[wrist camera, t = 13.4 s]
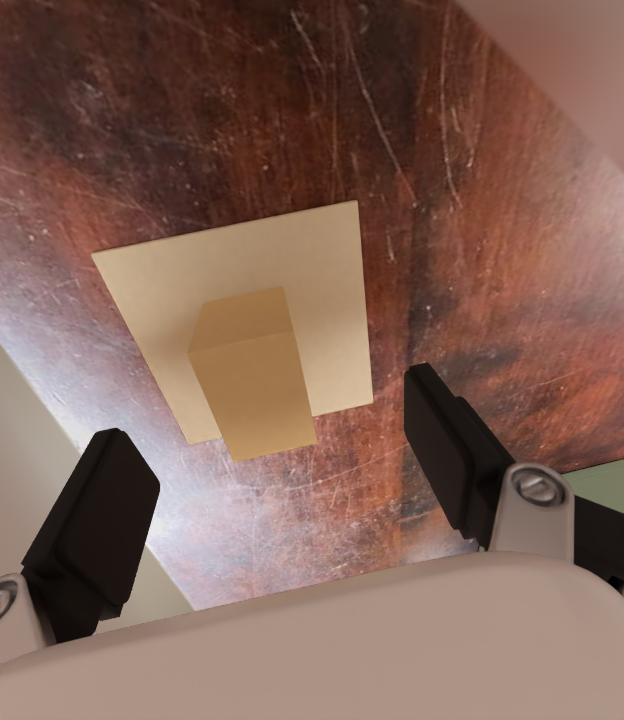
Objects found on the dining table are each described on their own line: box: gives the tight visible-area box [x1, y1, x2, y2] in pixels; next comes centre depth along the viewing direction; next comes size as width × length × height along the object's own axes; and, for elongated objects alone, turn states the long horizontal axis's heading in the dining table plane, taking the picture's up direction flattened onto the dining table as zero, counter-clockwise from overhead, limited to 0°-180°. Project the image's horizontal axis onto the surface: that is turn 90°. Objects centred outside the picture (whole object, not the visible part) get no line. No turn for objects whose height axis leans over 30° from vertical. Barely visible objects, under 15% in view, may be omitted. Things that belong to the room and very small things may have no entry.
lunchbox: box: [479, 459, 624, 552], centre depth 30 cm, size 16×11×5 cm
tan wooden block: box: [187, 287, 318, 463], centre depth 16 cm, size 6×4×5 cm, turn 9°
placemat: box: [91, 200, 373, 445], centre depth 18 cm, size 12×12×1 cm
